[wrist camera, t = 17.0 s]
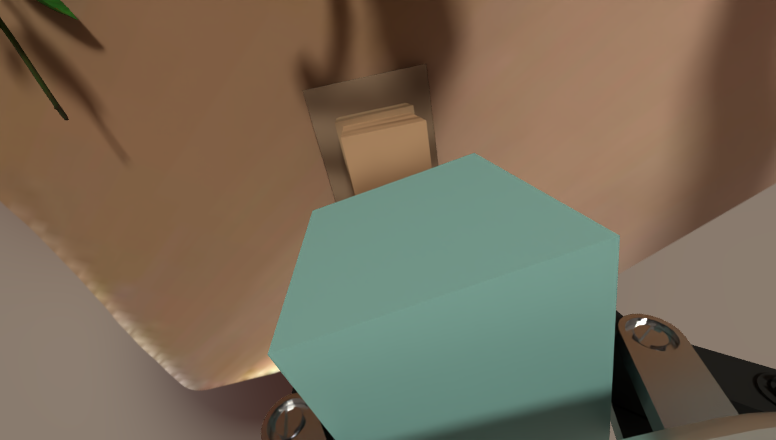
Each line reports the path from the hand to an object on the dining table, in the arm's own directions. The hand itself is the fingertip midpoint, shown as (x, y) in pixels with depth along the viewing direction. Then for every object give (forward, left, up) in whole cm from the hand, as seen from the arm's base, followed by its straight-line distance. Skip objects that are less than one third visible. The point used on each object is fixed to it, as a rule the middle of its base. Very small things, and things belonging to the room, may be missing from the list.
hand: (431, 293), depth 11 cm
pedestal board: (0, 0, -23) cm, 23 cm away
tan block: (0, 0, -18) cm, 18 cm away
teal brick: (0, 0, -1) cm, 1 cm away
